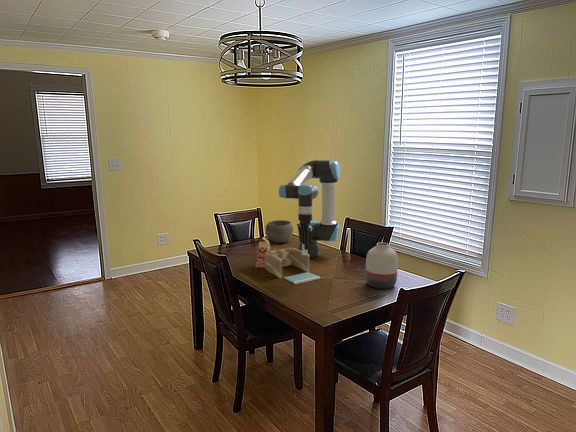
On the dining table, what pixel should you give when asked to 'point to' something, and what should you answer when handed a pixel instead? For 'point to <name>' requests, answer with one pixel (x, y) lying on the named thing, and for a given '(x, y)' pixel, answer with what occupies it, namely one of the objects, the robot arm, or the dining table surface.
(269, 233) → the bowl
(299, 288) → the dining table surface
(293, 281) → the light blue flat panel
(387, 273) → the vase
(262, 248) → the milk carton
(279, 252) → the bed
